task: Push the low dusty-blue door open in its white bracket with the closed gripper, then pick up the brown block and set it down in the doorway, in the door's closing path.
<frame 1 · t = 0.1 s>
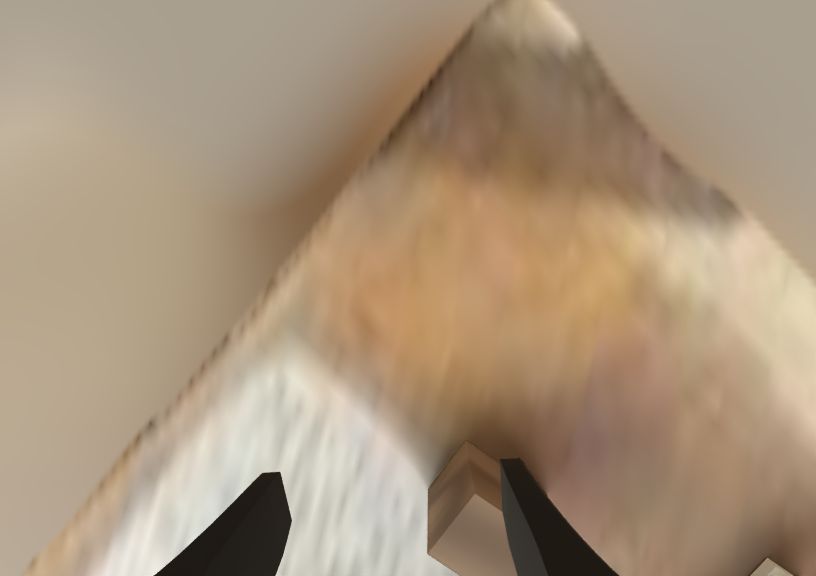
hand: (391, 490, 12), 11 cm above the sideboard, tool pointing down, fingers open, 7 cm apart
brown block: (486, 491, 24), on the sideboard
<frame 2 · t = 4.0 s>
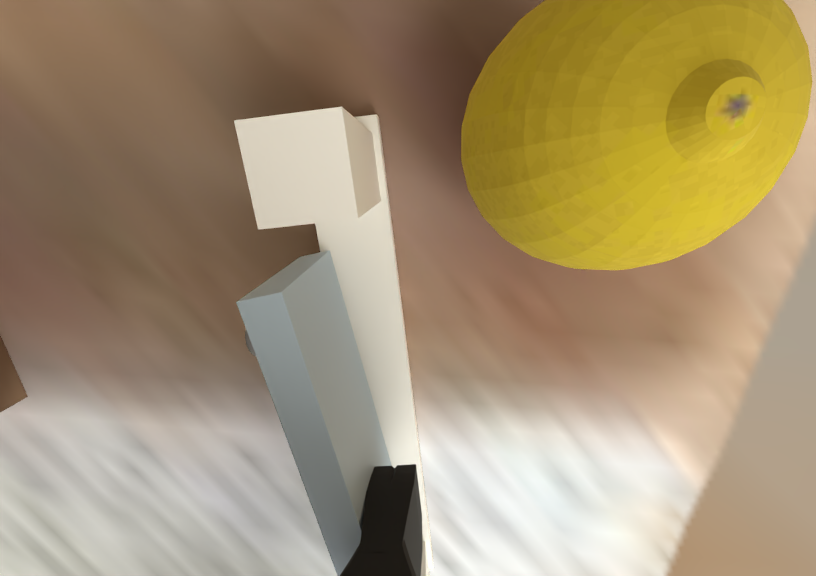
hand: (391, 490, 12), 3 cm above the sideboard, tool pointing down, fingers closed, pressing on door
door: (337, 467, 12), point 3 cm above the sideboard, hinge at 6.5°, touching gripper
lemon: (534, 149, 12), on the sideboard
white bracket: (399, 513, 16), on the sideboard
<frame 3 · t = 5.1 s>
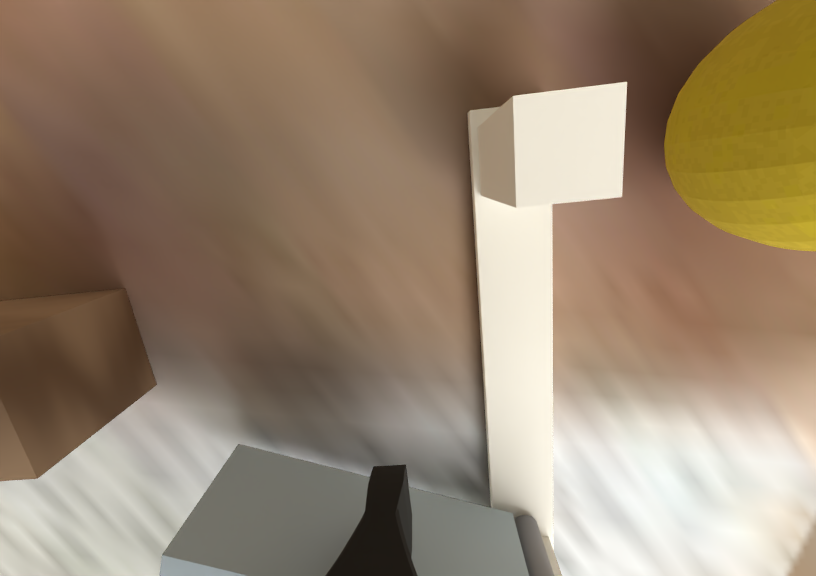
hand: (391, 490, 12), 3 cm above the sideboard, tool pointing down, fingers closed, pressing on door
door: (379, 562, 13), point 3 cm above the sideboard, hinge at 68.6°, touching gripper
lemon: (698, 138, 12), on the sideboard
brown block: (69, 344, 15), on the sideboard
white bracket: (519, 508, 16), on the sideboard
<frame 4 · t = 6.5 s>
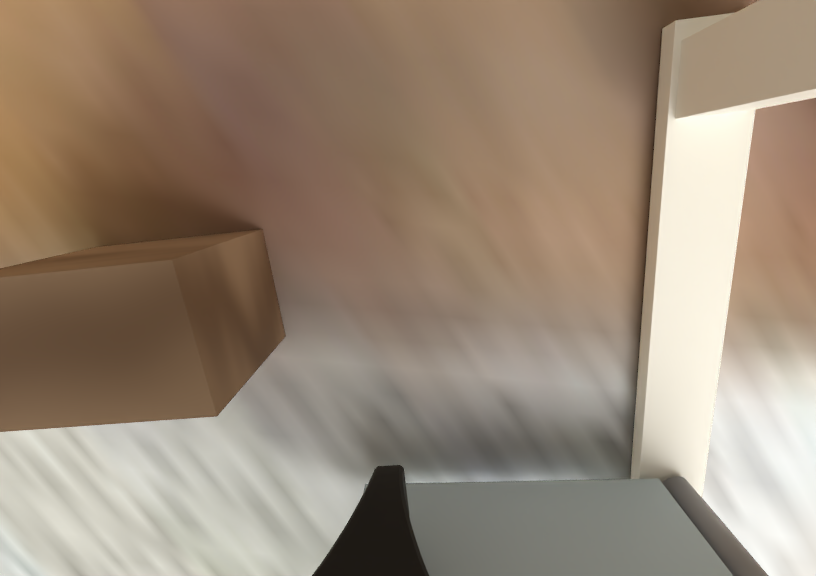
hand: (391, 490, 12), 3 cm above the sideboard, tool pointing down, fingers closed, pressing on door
door: (543, 564, 12), point 3 cm above the sideboard, hinge at 87.6°, touching gripper
brown block: (195, 291, 14), on the sideboard
white bracket: (662, 471, 15), on the sideboard
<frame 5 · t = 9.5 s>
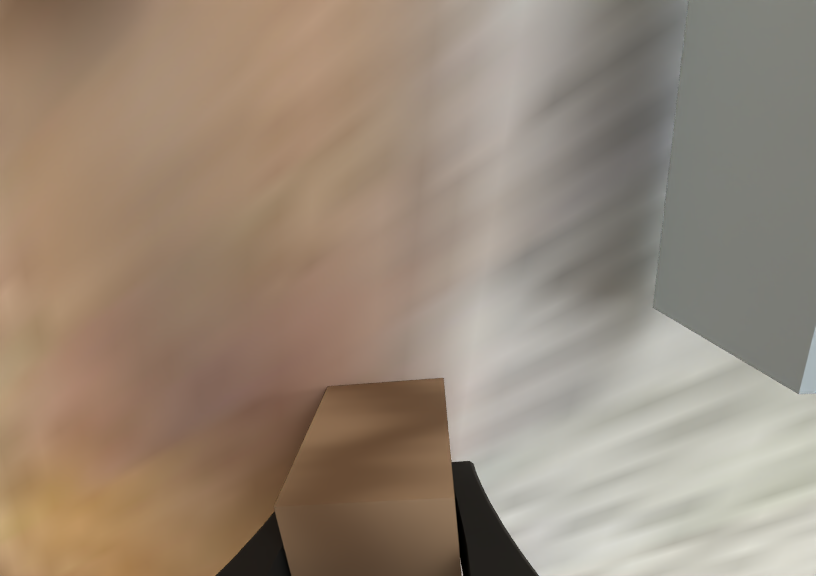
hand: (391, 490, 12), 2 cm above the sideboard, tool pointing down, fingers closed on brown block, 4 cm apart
brown block: (395, 455, 14), on the sideboard, touching gripper
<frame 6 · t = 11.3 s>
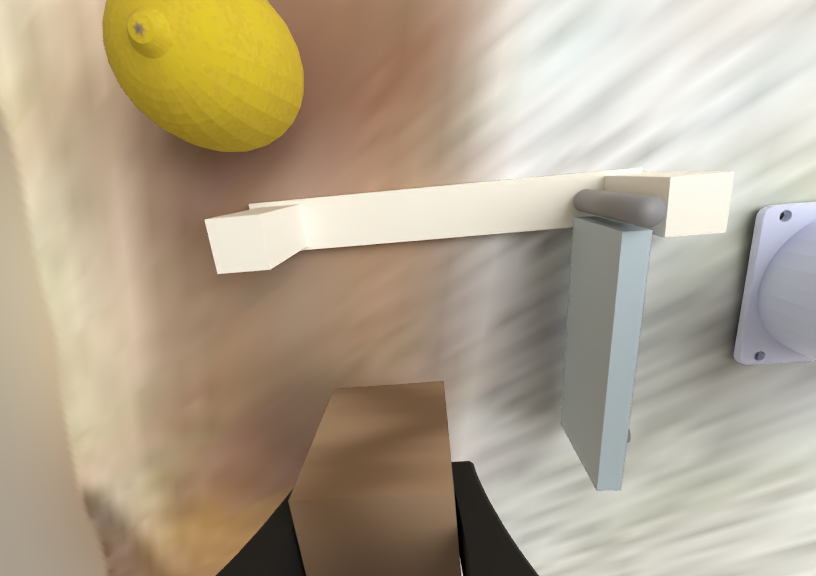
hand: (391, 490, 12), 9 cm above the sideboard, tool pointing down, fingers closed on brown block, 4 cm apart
door: (610, 338, 16), point 3 cm above the sideboard, hinge at 88.2°
lemon: (266, 92, 18), on the sideboard
brown block: (397, 453, 15), point 7 cm above the sideboard, touching gripper
white bracket: (578, 199, 18), on the sideboard
when the fingers open (3 cm above the sideboard, at t = 13.0 s): brown block stays where it is, on the sideboard.
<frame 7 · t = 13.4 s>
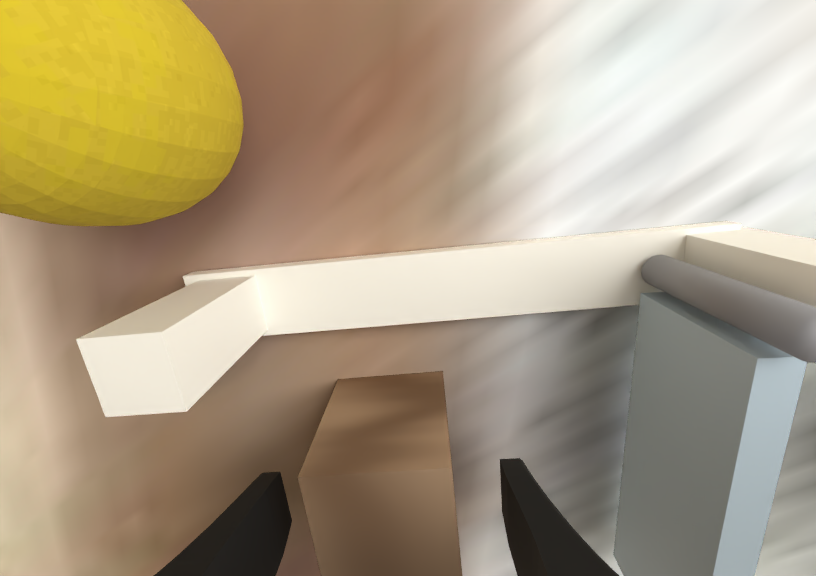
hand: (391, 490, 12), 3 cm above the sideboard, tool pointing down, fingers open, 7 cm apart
door: (703, 477, 11), point 3 cm above the sideboard, hinge at 88.2°
lemon: (202, 121, 12), on the sideboard
brown block: (399, 440, 15), on the sideboard
white bracket: (643, 264, 13), on the sideboard
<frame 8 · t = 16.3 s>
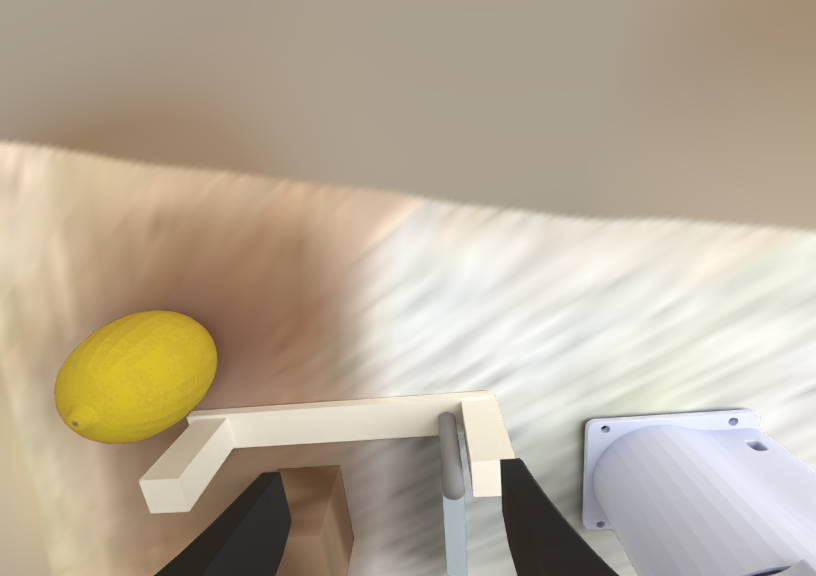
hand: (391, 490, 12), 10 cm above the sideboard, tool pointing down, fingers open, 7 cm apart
door: (462, 535, 21), point 3 cm above the sideboard, hinge at 88.2°
lemon: (197, 335, 22), on the sideboard
brown block: (317, 503, 25), on the sideboard
white bracket: (446, 411, 23), on the sideboard
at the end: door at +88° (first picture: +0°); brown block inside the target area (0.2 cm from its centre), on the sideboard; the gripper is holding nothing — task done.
